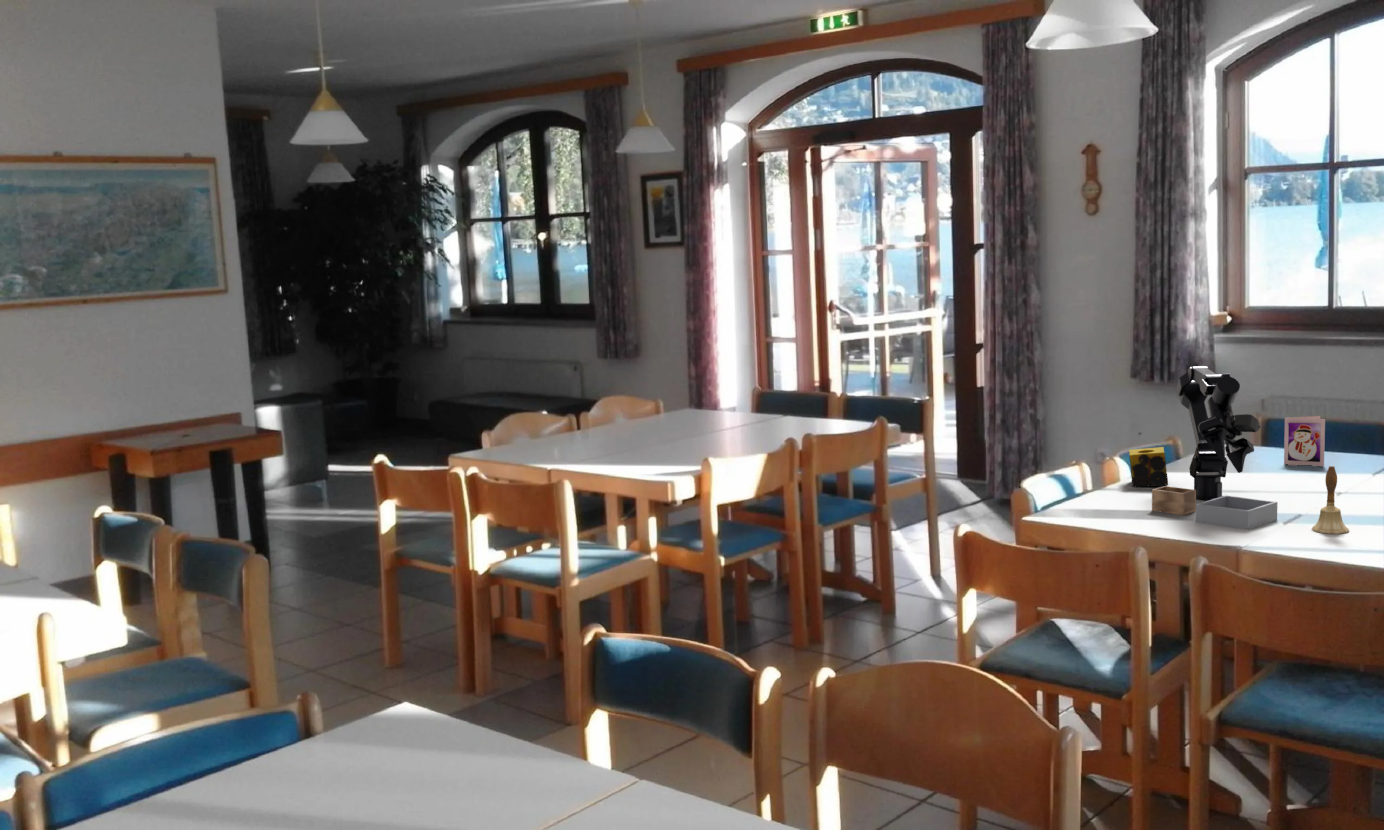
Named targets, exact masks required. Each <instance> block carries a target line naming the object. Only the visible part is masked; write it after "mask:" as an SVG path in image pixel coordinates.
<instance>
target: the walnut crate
mask: <svg viewBox="0 0 1384 830" xmlns="http://www.w3.org/2000/svg"><path fill="white" fill-rule="evenodd" d="M1196 504H1197V499H1196V490H1194V489H1193V488H1192V489H1191V488H1183V487H1175V486H1170V485H1164V486H1159V487H1157V488H1154V489H1153V488H1152V490H1151V511H1152V512H1156V511H1161V512H1160V513H1163V512H1167V513H1166V514H1170V513H1172V514H1171V515H1177V516H1178V515H1179V516H1186V515H1188V514H1192V513H1196V512H1195V511H1196Z"/></svg>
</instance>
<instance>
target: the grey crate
mask: <svg viewBox="0 0 1384 830" xmlns="http://www.w3.org/2000/svg"><path fill="white" fill-rule="evenodd" d="M1275 521H1278V501H1274V500H1273V501H1271V500H1264V499H1257V498H1256V499H1255V498H1247V497H1240V496H1231V495H1226V494H1225V495H1222V497H1219V498H1215V499H1212V500H1204V501H1202V502H1199V503H1196V512H1195V523H1199V524H1207V525H1213V524H1214V525H1213V526H1219V525H1222V526H1221V527H1226V528H1227V527H1228V528H1234V529H1240V530H1241V529H1242V530H1246V531H1247V530H1248V531H1249V530H1252V529H1254V528H1257V527H1260V526H1263V525H1266V524H1270V523H1272V522H1275Z"/></svg>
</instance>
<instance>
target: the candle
mask: <svg viewBox="0 0 1384 830" xmlns="http://www.w3.org/2000/svg"><path fill="white" fill-rule="evenodd" d="M1164 448H1165V447H1164V446H1160V447H1159V446H1158V447H1148V448H1136V449H1135V448H1134V449H1129V450H1128V452H1129V453H1128V454H1129V464H1130V476H1131V485H1132V488H1141V487H1142V488H1143V487H1156V486H1159V487H1163V486H1169V477H1168V473H1167V461H1166V451H1165V449H1164Z"/></svg>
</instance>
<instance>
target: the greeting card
mask: <svg viewBox="0 0 1384 830" xmlns="http://www.w3.org/2000/svg"><path fill="white" fill-rule="evenodd" d="M1325 433H1326V419H1325V418H1321V415H1315V416H1313V415H1312V416H1293V417H1292V416H1291V417H1284V437H1283V439H1284V443H1283V444H1284V445H1283V447H1284V448H1283V450H1284V451H1283V465H1284V464H1285V465H1284V466H1297V465H1314V466H1313V467H1317V466H1324V467H1325V447H1326V446H1325V442H1326V441H1325V440H1326V439H1325V438H1326V434H1325ZM1286 464H1288V465H1286ZM1315 465H1316V466H1315Z"/></svg>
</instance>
